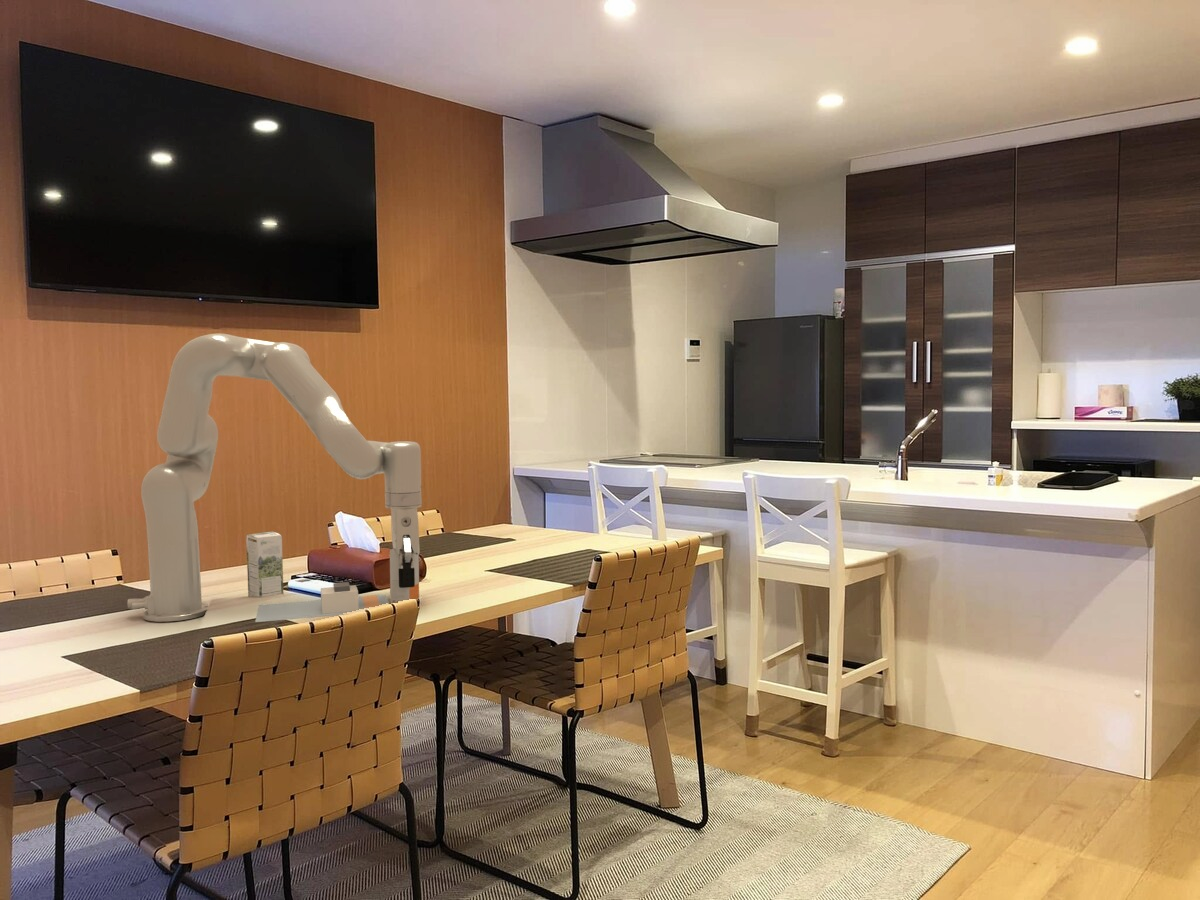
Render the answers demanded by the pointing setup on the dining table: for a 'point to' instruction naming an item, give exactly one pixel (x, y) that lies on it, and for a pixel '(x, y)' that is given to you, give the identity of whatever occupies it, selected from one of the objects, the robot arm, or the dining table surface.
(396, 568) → the skincare box
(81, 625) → the dining table surface
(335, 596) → the beige box
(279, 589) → the syrup box
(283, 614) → the board
